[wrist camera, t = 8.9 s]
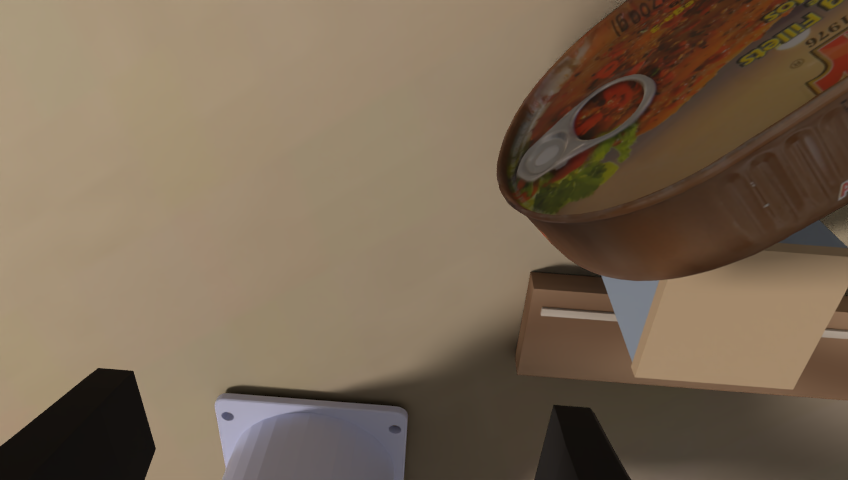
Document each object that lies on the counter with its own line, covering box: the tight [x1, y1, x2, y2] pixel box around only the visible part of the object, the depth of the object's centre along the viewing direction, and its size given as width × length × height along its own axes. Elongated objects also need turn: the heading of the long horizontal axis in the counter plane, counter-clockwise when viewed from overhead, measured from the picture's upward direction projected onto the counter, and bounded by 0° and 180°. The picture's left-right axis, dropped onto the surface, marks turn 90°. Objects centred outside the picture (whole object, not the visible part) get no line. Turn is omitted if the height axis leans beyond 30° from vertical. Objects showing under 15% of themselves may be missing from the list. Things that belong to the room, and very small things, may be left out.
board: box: [515, 272, 848, 400], centre depth 22 cm, size 4×14×1 cm, turn 87°
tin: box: [497, 0, 848, 281], centre depth 12 cm, size 15×3×8 cm, turn 131°
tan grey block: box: [602, 220, 848, 390], centre depth 17 cm, size 4×4×6 cm
